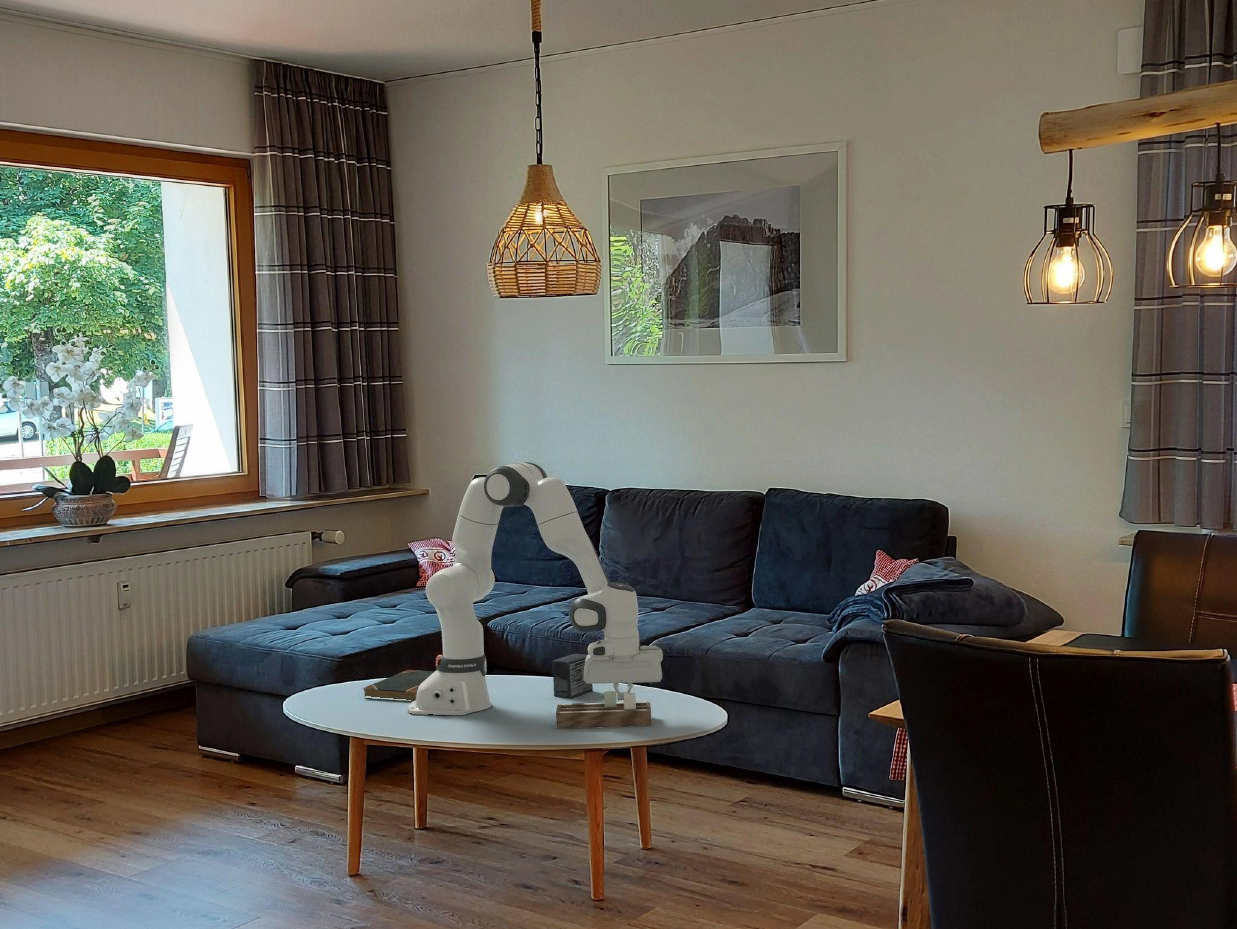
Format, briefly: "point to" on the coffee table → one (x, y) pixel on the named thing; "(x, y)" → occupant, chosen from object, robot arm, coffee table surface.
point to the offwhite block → (629, 701)
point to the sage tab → (610, 698)
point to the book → (398, 685)
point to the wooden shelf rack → (602, 715)
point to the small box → (570, 676)
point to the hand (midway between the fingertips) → (623, 699)
